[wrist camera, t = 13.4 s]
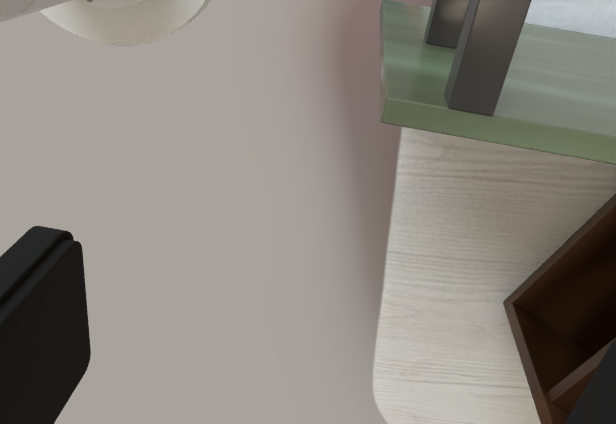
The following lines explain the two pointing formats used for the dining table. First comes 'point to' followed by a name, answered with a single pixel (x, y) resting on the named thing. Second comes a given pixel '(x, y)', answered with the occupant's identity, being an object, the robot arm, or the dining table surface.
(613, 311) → the cabinet
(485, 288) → the dining table surface
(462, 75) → the cabinet door
